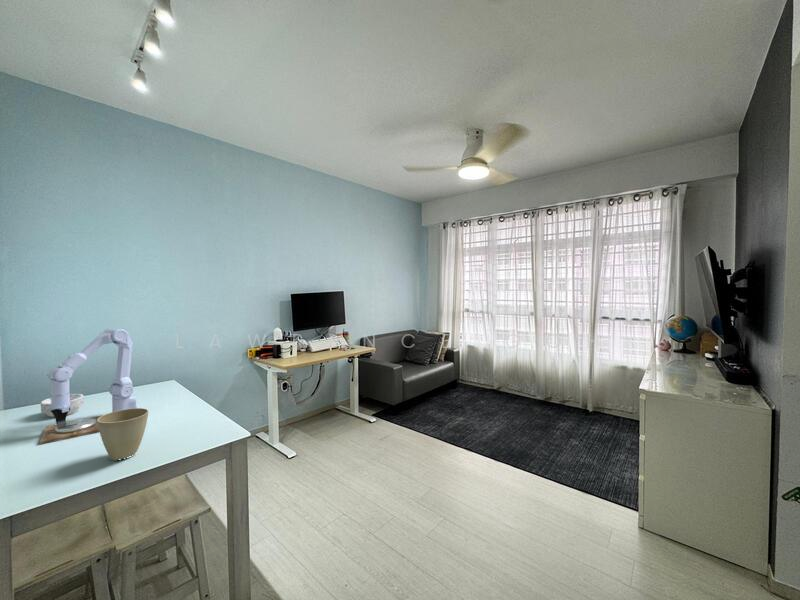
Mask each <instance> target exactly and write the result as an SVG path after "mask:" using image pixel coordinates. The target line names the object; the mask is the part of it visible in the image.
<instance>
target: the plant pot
mask: <svg viewBox="0 0 800 600" xmlns="http://www.w3.org/2000/svg"><path fill="white" fill-rule="evenodd" d="M100 416H101V417H99V416H98V417H99V418H98V419H97V422H98V427H99V432H98V433H99V435H100V438H101V441H102V444H103V446H104V448H105V450H106V452H107V454H108V457H109V458H110V460H111V459H112V460H111V461H113V460H119V459H124V458H127V457H129V456H132V455H134V454H135V453H136V452H138V450H139V448H140V446H141V443H142V441H143V437H144V435H145V431H146V426H147V423H148V417H149V409H147V408H142V407H140V408H138V407H137V408H133V409H125V410H119V411H115V412H108V413H105V414H103V415H100ZM136 454H137V453H136ZM136 454H135V455H136ZM135 455H134V456H135Z"/></svg>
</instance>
